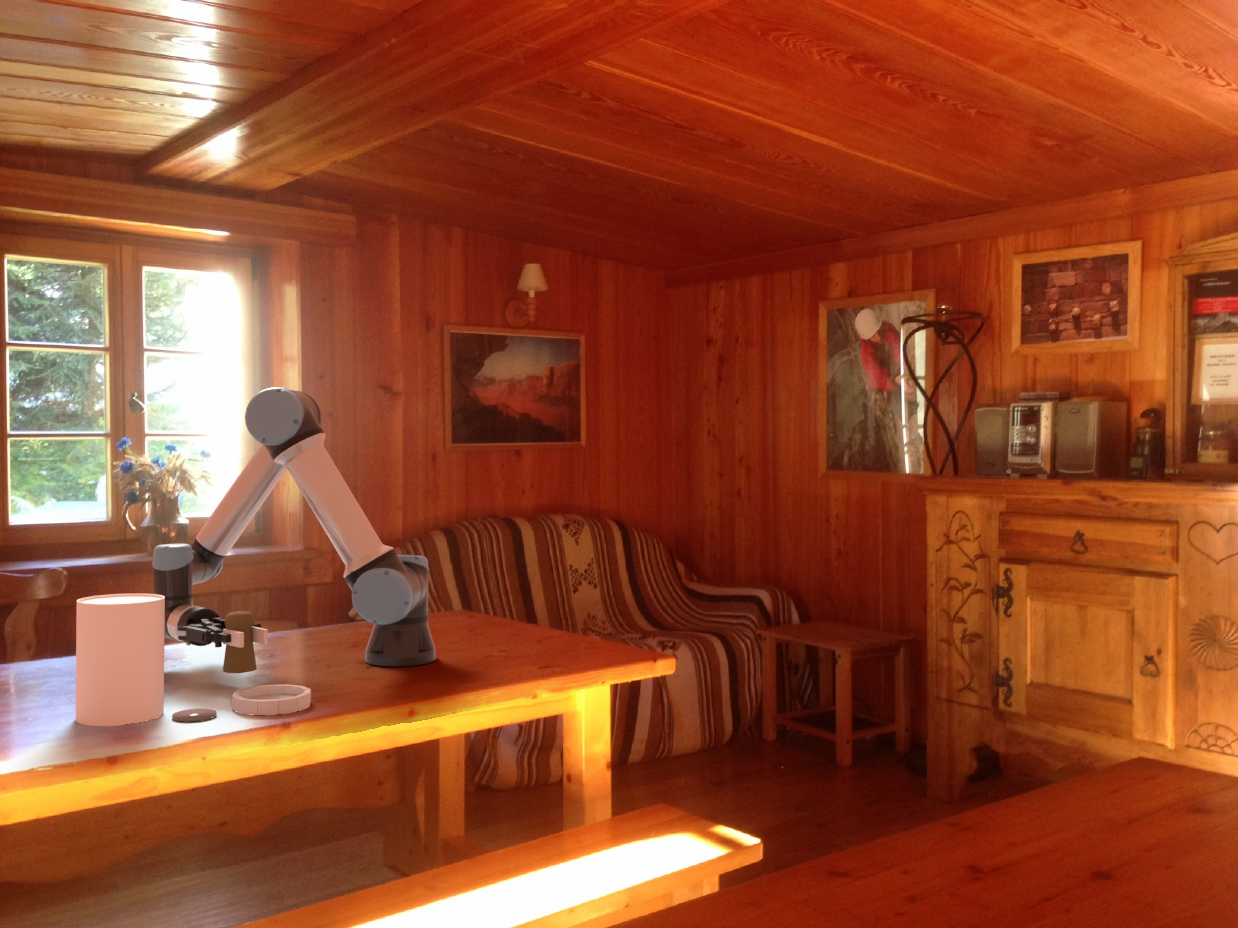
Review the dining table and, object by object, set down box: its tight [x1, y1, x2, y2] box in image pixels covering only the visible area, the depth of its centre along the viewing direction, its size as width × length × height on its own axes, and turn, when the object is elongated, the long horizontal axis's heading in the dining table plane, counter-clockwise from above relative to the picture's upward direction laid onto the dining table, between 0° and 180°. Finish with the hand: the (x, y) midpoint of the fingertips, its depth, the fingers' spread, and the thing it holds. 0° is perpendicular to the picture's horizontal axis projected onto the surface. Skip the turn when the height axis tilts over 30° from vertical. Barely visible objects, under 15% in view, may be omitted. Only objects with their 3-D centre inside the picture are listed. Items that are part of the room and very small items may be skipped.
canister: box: [75, 593, 165, 727], centre depth 177 cm, size 14×14×20 cm
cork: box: [222, 610, 257, 674], centre depth 196 cm, size 6×6×11 cm
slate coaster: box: [171, 708, 218, 723], centre depth 177 cm, size 7×7×1 cm
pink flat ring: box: [231, 683, 312, 716], centre depth 185 cm, size 13×13×2 cm
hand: (253, 638), depth 193 cm, fingers closed on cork, 4 cm apart
